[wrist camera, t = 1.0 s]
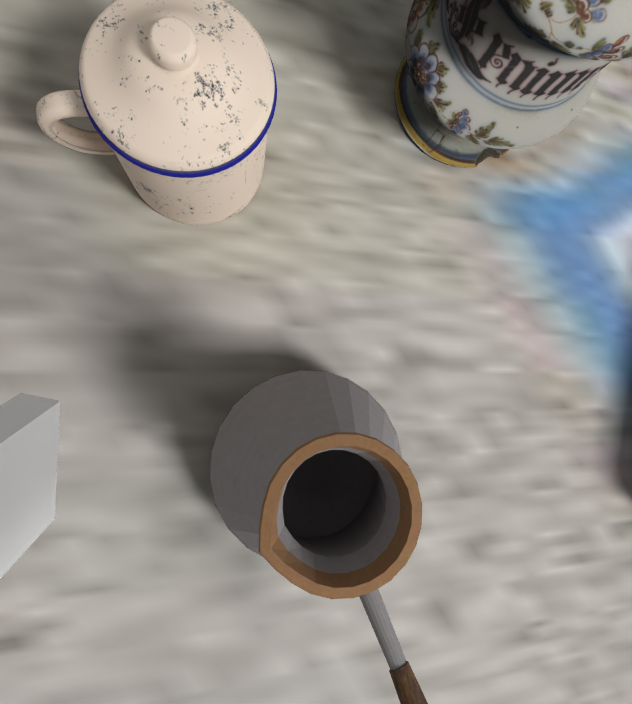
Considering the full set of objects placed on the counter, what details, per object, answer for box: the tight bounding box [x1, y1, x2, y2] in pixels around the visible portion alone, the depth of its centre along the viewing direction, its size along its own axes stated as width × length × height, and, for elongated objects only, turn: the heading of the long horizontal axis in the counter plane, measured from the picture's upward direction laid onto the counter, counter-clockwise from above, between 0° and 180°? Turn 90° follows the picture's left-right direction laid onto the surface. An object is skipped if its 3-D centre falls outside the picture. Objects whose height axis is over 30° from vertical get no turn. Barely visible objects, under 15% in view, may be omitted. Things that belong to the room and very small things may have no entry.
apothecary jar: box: [395, 0, 632, 167], centre depth 25 cm, size 12×12×18 cm
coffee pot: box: [210, 371, 428, 704], centre depth 24 cm, size 21×12×15 cm, turn 21°
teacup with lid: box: [36, 0, 277, 225], centre depth 25 cm, size 12×9×12 cm
